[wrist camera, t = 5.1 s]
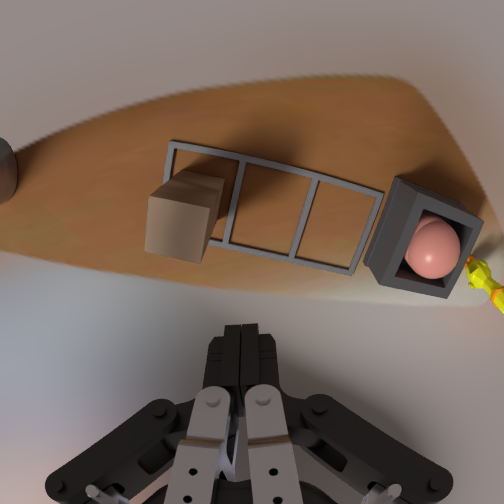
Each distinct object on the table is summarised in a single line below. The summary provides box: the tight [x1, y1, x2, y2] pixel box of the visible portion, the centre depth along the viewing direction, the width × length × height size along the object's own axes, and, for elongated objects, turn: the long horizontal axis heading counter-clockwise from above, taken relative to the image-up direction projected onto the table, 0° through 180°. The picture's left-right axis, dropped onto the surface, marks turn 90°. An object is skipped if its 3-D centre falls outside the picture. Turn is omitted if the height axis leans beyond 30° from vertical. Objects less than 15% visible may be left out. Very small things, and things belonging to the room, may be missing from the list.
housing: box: [363, 176, 484, 299], centre depth 27 cm, size 10×10×5 cm
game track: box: [163, 141, 384, 276], centre depth 29 cm, size 22×10×1 cm, turn 77°
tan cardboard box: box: [145, 170, 225, 264], centre depth 25 cm, size 4×4×9 cm
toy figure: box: [464, 255, 504, 314], centre depth 26 cm, size 7×4×12 cm, turn 78°
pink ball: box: [403, 210, 460, 279], centre depth 26 cm, size 6×6×6 cm
